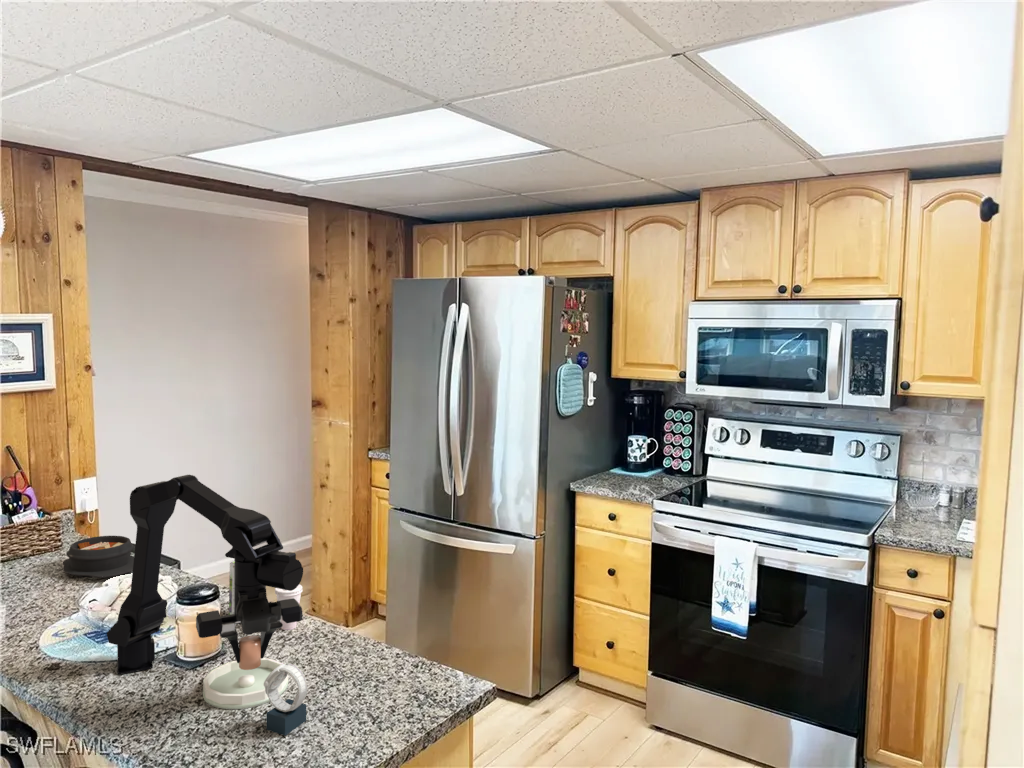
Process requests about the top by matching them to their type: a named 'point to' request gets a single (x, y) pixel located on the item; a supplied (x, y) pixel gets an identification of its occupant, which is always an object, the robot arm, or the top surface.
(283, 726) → the watch
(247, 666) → the bead
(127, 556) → the casserole
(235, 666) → the groove tray
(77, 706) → the top surface
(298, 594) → the smoothie
